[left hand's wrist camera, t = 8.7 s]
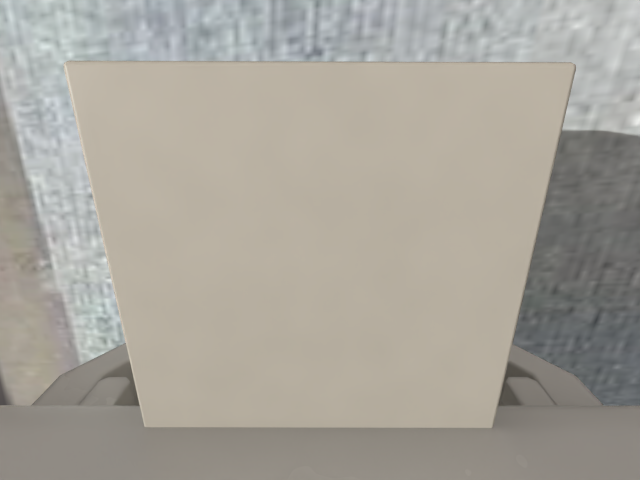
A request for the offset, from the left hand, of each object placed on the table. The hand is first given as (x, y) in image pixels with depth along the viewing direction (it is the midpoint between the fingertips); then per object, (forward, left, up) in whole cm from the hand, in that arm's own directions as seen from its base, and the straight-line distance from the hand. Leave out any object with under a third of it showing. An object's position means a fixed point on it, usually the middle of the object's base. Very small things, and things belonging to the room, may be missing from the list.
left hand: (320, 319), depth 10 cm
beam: (+20, +9, -3) cm, 23 cm away
